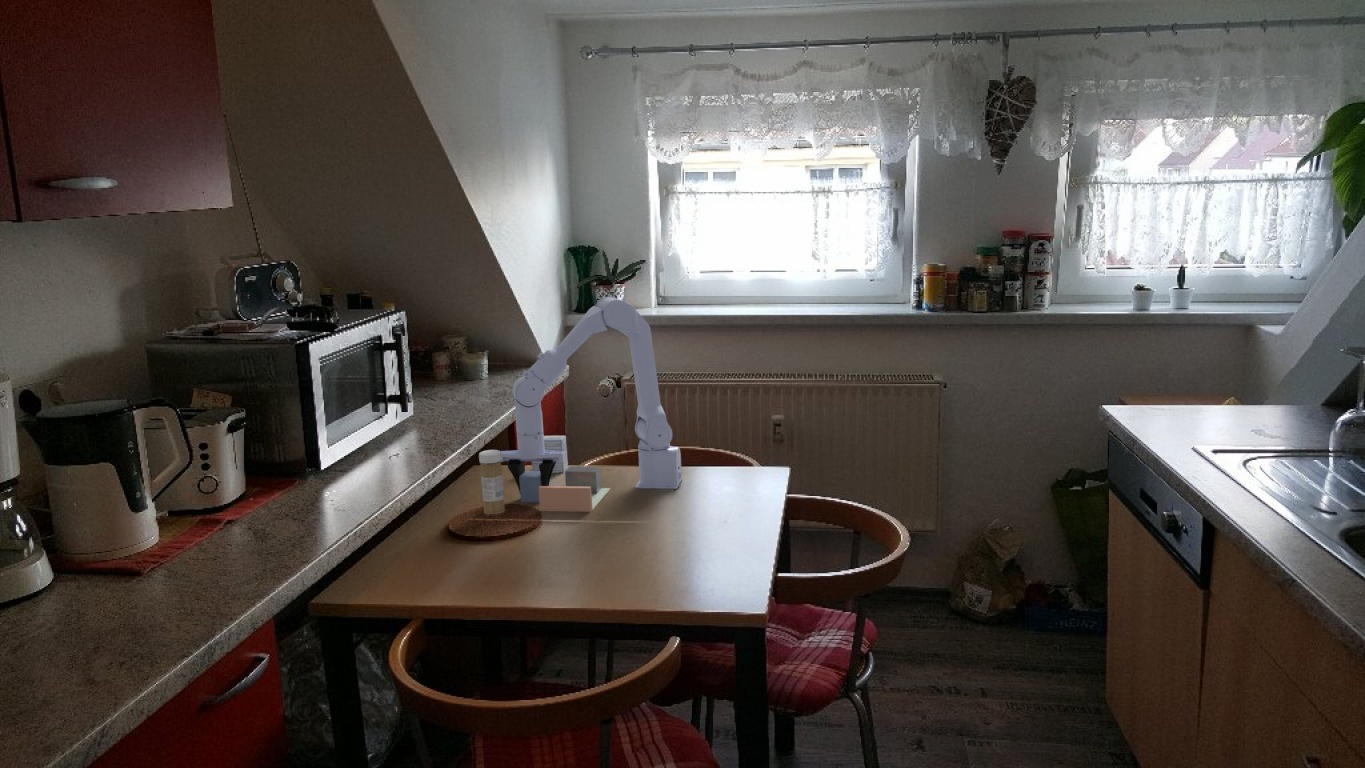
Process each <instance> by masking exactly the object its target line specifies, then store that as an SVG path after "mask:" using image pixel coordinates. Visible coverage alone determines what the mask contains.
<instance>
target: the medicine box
mask: <svg viewBox="0 0 1365 768" xmlns="http://www.w3.org/2000/svg"><path fill="white" fill-rule="evenodd" d="M544 449H545V450H552V451H565V461H563V462H558V461H556V464H555V467H554V469H553V472H552V474H560V473H559V472H565V471H566V469H567V468H569V465H568V464H569V463H568V462H569V461H568V451H567V450H568V449H567V436H566V435H544ZM541 463H542V461H531V467H532V468H531V471H540V469H539V464H541Z"/></svg>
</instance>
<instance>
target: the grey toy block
mask: <svg viewBox="0 0 1365 768" xmlns="http://www.w3.org/2000/svg"><path fill="white" fill-rule="evenodd" d="M564 475H565V476H564V477H565V486H586V487H591V492H592V494H597V493H598V492H599V491H600V490H601V488H602V476H601V475H602V474H601V466H568V469H567V470H566V471H565V473H564Z"/></svg>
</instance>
